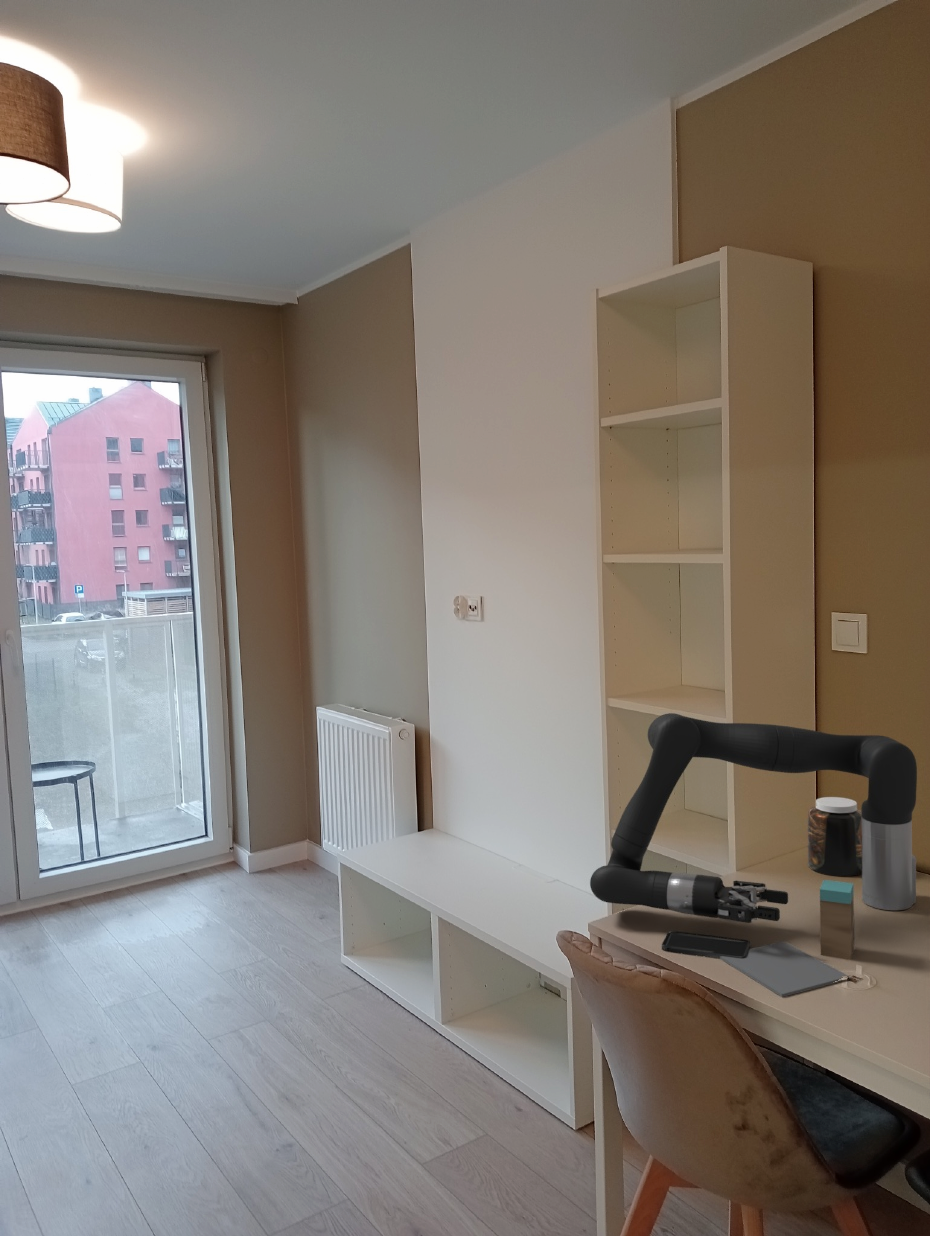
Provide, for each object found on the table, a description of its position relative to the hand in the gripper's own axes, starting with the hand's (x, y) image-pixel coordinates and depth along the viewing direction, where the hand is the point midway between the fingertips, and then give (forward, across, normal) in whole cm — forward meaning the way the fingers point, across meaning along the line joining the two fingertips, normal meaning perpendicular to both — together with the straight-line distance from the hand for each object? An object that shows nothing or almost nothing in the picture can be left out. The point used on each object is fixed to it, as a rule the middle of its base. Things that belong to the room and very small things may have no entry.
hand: (783, 906), depth 174 cm
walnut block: (+9, 0, +7) cm, 11 cm away
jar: (+4, +45, +7) cm, 46 cm away
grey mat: (+2, -11, +7) cm, 13 cm away
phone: (-13, -7, +8) cm, 16 cm away
